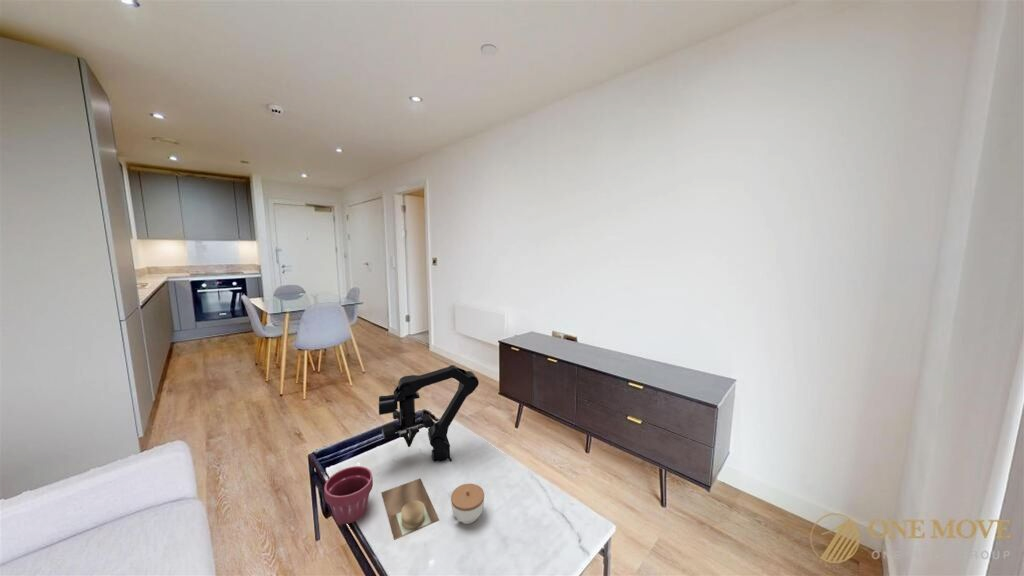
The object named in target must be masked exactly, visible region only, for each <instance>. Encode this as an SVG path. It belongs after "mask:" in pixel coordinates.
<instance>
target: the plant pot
mask: <svg viewBox="0 0 1024 576" xmlns="http://www.w3.org/2000/svg"><path fill="white" fill-rule="evenodd" d="M373 479H374V478H373V474H372V471H371V470H370V469H369V468H367V467H366V466H363V465H362V466H361V465H360V466H358V465H357V466H356V465H355V466H349V467H346V468H343V469H339V470H338V471H337V472H335V473H334V474H332V475H331V476H330V477H329V478H328V479H327V480H326V482H325V484H324V488H323V489H324V490H323V492H324V500H325V503H326V504H327V505H329V507H330V509H331V510H330V511H331V512H332V515H333V517H334V518H333V519H334V521H335V522H336V525H338V526H340V527H343V525H348V524H352V523H354V522H356V521H358V520H360V518H362V517H363V516H364V515H365V513H366V511H367V509H368V503H369V497H370V493H371V491H372V490H373V486H374V485H373V482H374V481H373Z"/></svg>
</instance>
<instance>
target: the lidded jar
mask: <svg viewBox="0 0 1024 576" xmlns="http://www.w3.org/2000/svg"><path fill="white" fill-rule="evenodd" d="M450 501H451V509H452V513H453V515H454V518H456V520H458V521H459V522H460V523H461V524H463V525H469V524H472V523H474V522H475V521H476V520H478V519H479V517H480V515H481V514H482V512H483V509H484V504H485V491H484V489H483V488H482V487H481V486H479V485H478V484H475V483H465V484H460V485H459V486H457V487H456V488H455V489H453V491H452V492H451V496H450Z"/></svg>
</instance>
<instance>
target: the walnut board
mask: <svg viewBox="0 0 1024 576" xmlns="http://www.w3.org/2000/svg"><path fill="white" fill-rule="evenodd" d="M380 493H381V497H382V500H383V505H384V507H385V512H386V514H387V515H386V516H387V519H388V523H389V526H390V530H391V534H392V537H393V541H396V540H398V539H400V538H402V537H404V536H407V535H409V534H412V533H414V532H416V531H419V530H421V529H423V528H425V527H427V526H430V525H432V524H434V523H437V522H439V521H440V518H439V516H438V514H437V512H436V509H435V508H434V505H433V503H432V501H431V498H430V497H429V496H430V495H429V494H428V492H427V490H426V486H425V485H424V483H423V481H422V479H421V478H417V479H415V480H412V481H409V482H407V483H403V484H401V485H398V486H396V487H392V488H390V489H386V490H384V491H381V492H380ZM415 500H417V501H421V502H422V503H423V504H424V516H425V519H424V522H423V523H422V525H420V526H419V527H418V528H415V529H411V530H409V529H405V528H404V527H403V526H402V518H401V510H402V508H403V506H404V505H405V504H407V503H408V502H410V501H415Z"/></svg>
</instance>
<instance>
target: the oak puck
mask: <svg viewBox="0 0 1024 576" xmlns="http://www.w3.org/2000/svg"><path fill="white" fill-rule="evenodd" d="M401 518H402V526H403V527H404V528H405V529H409V530H411V529H415V528H418V527H419V526H420V525H422V523H423V522H424V519H425V516H424V504H423V503H422V502H421V501H417V500H415V501H410V502H408V503H407V504H405V505H404V506H403V508H402V510H401Z"/></svg>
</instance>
